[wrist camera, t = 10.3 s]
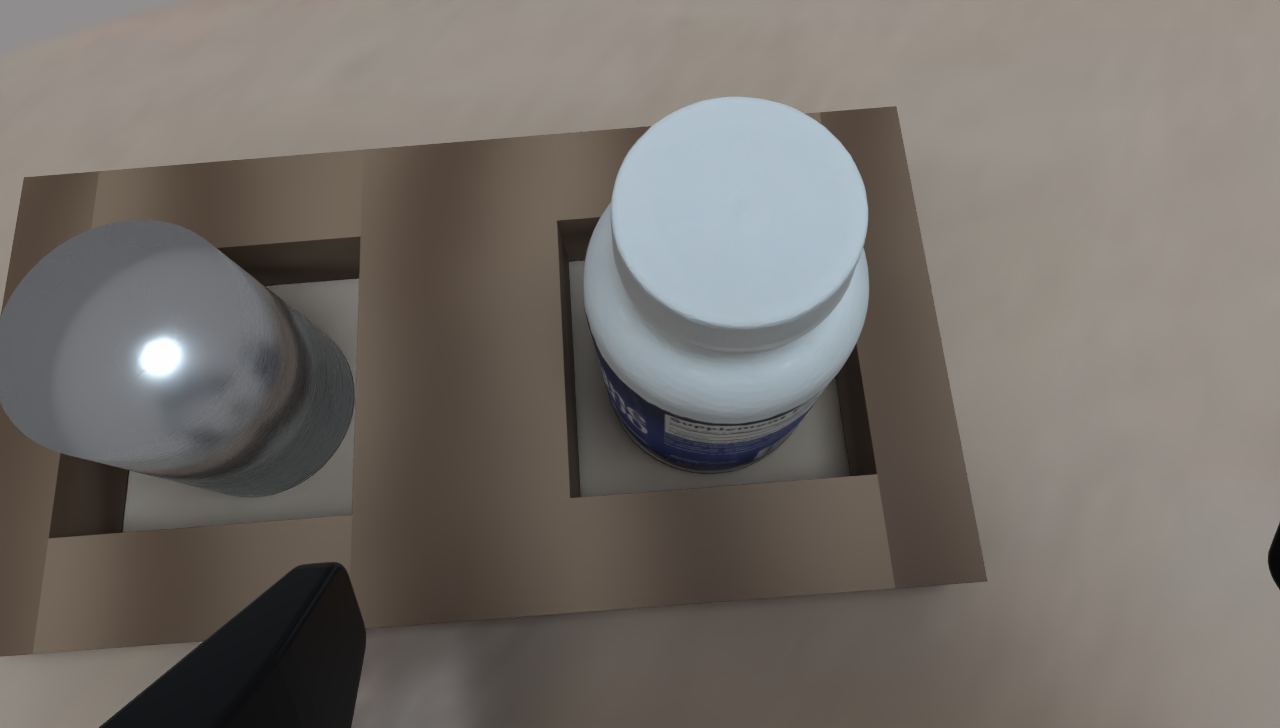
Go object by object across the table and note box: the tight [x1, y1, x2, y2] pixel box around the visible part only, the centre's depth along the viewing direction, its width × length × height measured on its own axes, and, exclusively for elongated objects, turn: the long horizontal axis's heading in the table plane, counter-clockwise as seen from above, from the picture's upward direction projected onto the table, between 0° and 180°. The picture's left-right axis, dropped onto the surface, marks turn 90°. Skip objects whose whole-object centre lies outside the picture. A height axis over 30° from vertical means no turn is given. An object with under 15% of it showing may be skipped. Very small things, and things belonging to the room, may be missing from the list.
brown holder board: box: [0, 106, 987, 656], centre depth 20 cm, size 23×12×2 cm, turn 94°
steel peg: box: [0, 220, 354, 497], centre depth 19 cm, size 5×5×6 cm
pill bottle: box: [583, 97, 869, 473], centre depth 17 cm, size 5×5×10 cm
